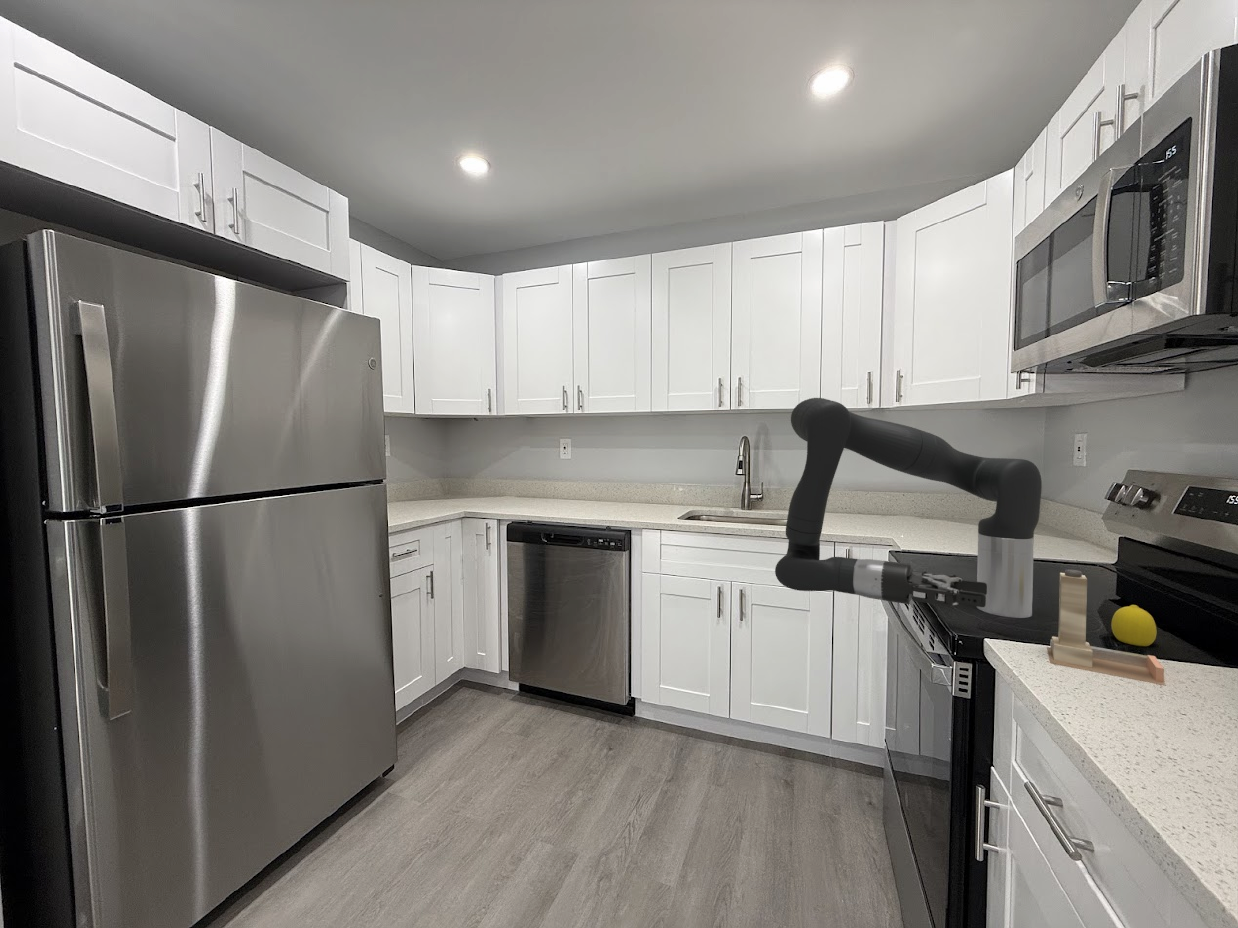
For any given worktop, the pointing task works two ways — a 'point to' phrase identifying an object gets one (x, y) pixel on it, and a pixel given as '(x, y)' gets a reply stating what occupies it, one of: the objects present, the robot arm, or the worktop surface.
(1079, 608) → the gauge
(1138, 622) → the lemon
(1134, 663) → the straightedge
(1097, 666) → the board
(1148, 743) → the worktop surface
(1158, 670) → the end stop
